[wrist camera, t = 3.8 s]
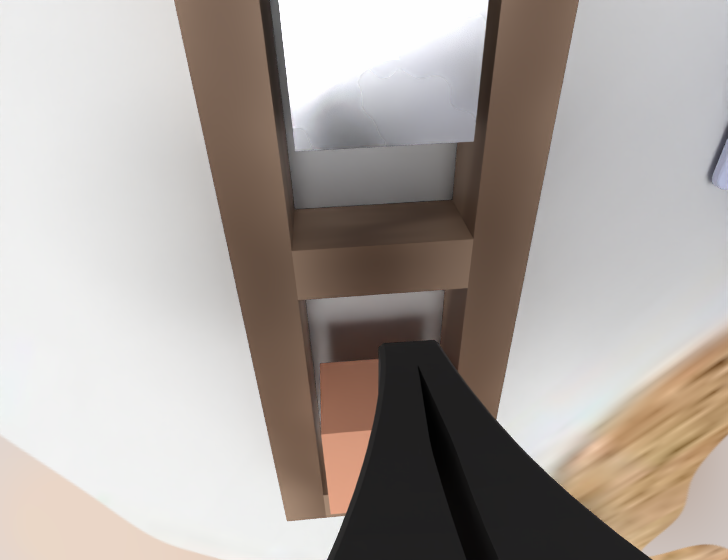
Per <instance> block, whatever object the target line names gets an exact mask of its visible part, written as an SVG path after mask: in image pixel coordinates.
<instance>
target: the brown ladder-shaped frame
mask: <svg viewBox="0 0 728 560" xmlns="http://www.w3.org/2000/svg"><path fill="white" fill-rule="evenodd" d="M174 2H175V6H176V11H177V16H178V20H179V25H180V29H181V34H182V39H183V43H184V48H185V52H186V57H187V62H188V66H189V71H190V76H191V80H192V85H193V89H194V94H195V99H196V103H197V108H198V112H199V117H200V122H201V126H202V131H203V136H204V140H205V145H206V149H207V154H208V159H209V163H210V168H211V172H212V177H213V182H214V186H215V191H216V196H217V200H218V205H219V209H220V214H221V219H222V223H223V228H224V232H225V237H226V242H227V246H228V251H229V256H230V260H231V265H232V269H233V274H234V279H235V283H236V288H237V292H238V297H239V302H240V306H241V311H242V316H243V320H244V325H245V329H246V334H247V339H248V343H249V348H250V352H251V357H252V362H253V366H254V371H255V376H256V380H257V385H258V389H259V394H260V399H261V403H262V408H263V412H264V417H265V422H266V426H267V431H268V436H269V440H270V445H271V449H272V454H273V459H274V463H275V468H276V472H277V477H278V482H279V486H280V491H281V495H282V500H283V505H284V509H285V514H286V519H287V521H295V520H306V519H316V518H327V517H337V516H345V515H346V513H342V514H331V513H330V504H329V496H328V488H327V479H326V471H325V463H324V454H323V446H322V437H321V427H320V418H319V410H318V401H317V393H316V385H315V376H314V368H313V359H312V351H311V342H310V334H309V326H308V317H307V309H306V300H308V299H322V298H336V297H350V296H364V295H378V294H392V293H406V292H420V291H434V290H445V293H444V305H443V316H442V328H441V340H440V346H441V348H442V349H443V351H444V352H445V354H446V355H447V357H448V358H449V360H450V361H451V363H452V364H453V366H454V367H455V368H456V370H457V371H458V373H459V374H460V375H461V377H462V378H463V379H464V381H465V382H466V383H467V385H468V386H469V387H470V389H471V390H472V391H473V392H474V394H475V395H476V396H477V397H478V399H479V400H480V401H481V402H482V404H483V405H484V406H485V407H486V409H487V410H488V411H489V412H490V413H491V415H492V416H493V417H494V418H495V419H496V418H497V413H498V408H499V403H500V397H501V392H502V387H503V382H504V377H505V372H506V367H507V362H508V357H509V352H510V347H511V342H512V337H513V332H514V327H515V321H516V316H517V311H518V306H519V301H520V296H521V291H522V286H523V281H524V276H525V271H526V266H527V261H528V256H529V251H530V245H531V240H532V235H533V230H534V225H535V220H536V215H537V210H538V205H539V200H540V195H541V190H542V185H543V180H544V175H545V169H546V164H547V159H548V154H549V149H550V144H551V139H552V134H553V129H554V124H555V119H556V114H557V109H558V104H559V98H560V93H561V88H562V83H563V78H564V73H565V68H566V63H567V58H568V53H569V48H570V43H571V38H572V33H573V28H574V22H575V17H576V12H577V7H578V2H579V0H489V1H488V11H487V20H486V30H485V39H484V49H483V58H482V68H481V78H480V87H479V97H478V106H477V116H476V125H475V135H474V142H457V153H456V164H455V176H454V188H453V199H452V200H443V201H426V202H410V203H394V204H377V205H361V206H345V207H328V208H312V209H296V210H295V208H294V199H293V191H292V183H291V174H290V166H289V157H288V149H287V141H286V132H285V124H284V115H283V107H282V98H281V90H280V82H279V73H278V65H277V56H276V48H275V40H274V31H273V23H272V14H271V6H270V0H174Z"/></svg>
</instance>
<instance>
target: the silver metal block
mask: <svg viewBox="0 0 728 560" xmlns="http://www.w3.org/2000/svg"><path fill="white" fill-rule="evenodd" d="M488 1H489V0H279V9H280V18H281V27H282V36H283V45H284V54H285V63H286V73H287V82H288V91H289V100H290V109H291V118H292V127H293V136H294V145H295V151H310V150H328V149H346V148H365V147H383V146H401V145H420V144H438V143H456V142H474V135H475V125H476V116H477V106H478V97H479V87H480V78H481V68H482V58H483V49H484V39H485V30H486V20H487V11H488Z"/></svg>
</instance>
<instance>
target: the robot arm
mask: <svg viewBox="0 0 728 560" xmlns="http://www.w3.org/2000/svg"><path fill="white" fill-rule="evenodd" d="M712 183H713V184H714V185H715V186H717V187H718V188H720V189H724V190H727V189H728V138H727V141H726V143H725V146H724V148H723V151H722V153H721V156H720V158H719V161H718V163H717V165H716V168H715V170H714V173H713V175H712ZM327 560H652V559H651V558H649V557H648V556H647V555H645V554H644V553H643V552H641V551H640V550H639V549H637V548H636V547H635V546H633V545H632V544H631V543H629V542H628V541H627V540H625V539H624V538H623V537H621V536H620V535H619V534H618V533H616V532H615V531H614V530H613V529H611V528H610V527H609V526H608V525H607V524H605V523H604V522H603V521H602V520H600V519H599V518H598V517H597V516H596V515H594V514H593V513H592V512H591V511H589V510H588V509H587V508H586V507H585V506H583V505H582V504H581V503H580V502H578V501H577V500H576V499H575V498H574V497H573V496H571V495H570V494H569V493H568V492H567V491H566V490H565V489H564V488H563V487H561V486H560V485H559V484H558V483H557V482H556V481H555V480H554V479H553V478H552V477H550V476H549V475H548V474H547V473H546V472H545V471H544V470H543V469H542V468H541V467H540V466H539V465H538V464H537V463H536V462H535V461H534V460H533V459H532V458H531V457H530V456H529V455H528V454H527V453H526V452H525V451H524V450H523V449H522V448H521V447H520V446H519V445H518V444H517V443H516V442H515V440H514V439H513V438H512V437H511V436H510V435H509V434H508V433H507V432H506V431H505V429H504V428H503V427H502V426H501V425H500V424H499V423H498V422H497V420H496V419H495V418H494V417H493V416H492V415H491V413H490V412H489V411H488V410H487V409H486V407H485V406H484V405H483V404H482V402H481V401H480V400H479V399H478V397H477V396H476V395H475V394H474V392H473V391H472V390H471V389H470V387H469V386H468V385H467V383H466V382H465V381H464V379H463V378H462V377H461V375H460V374H459V373H458V371H457V370H456V368H455V367H454V366H453V364H452V363H451V361H450V360H449V358H448V357H447V355H446V354H445V352H444V351H443V349H442V348H441V346H440V344H439V343H438V342H437V341H435V340H428V341H413V342H397V343H383V344H382V345H381V346H380V347H379V363H378V399H377V405H376V411H375V417H374V421H373V426H372V430H371V434H370V438H369V442H368V446H367V450H366V454H365V458H364V461H363V465H362V468H361V471H360V474H359V478H358V481H357V484H356V487H355V490H354V493H353V496H352V498H351V501H350V504H349V507H348V509H347V512H346V515H345V518H344V520H343V523H342V526H341V528H340V531H339V533H338V536H337V538H336V541H335V543H334V545H333V547H332V550H331V552H330V554H329V557H328V559H327Z"/></svg>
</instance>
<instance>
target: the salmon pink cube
mask: <svg viewBox="0 0 728 560" xmlns="http://www.w3.org/2000/svg"><path fill="white" fill-rule="evenodd" d="M378 363H379V359H370V360H358V361H345V362H332V363H320V390H321V437H322V446H323V454H324V463H325V471H326V479H327V488H328V496H329V504H330V513H331V514H342V513H346V512H347V509H348V507H349V504H350V501H351V498H352V496H353V493H354V490H355V487H356V484H357V481H358V478H359V474H360V471H361V468H362V465H363V461H364V458H365V454H366V450H367V446H368V442H369V438H370V434H371V430H372V426H373V421H374V417H375V411H376V405H377V399H378Z"/></svg>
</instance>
